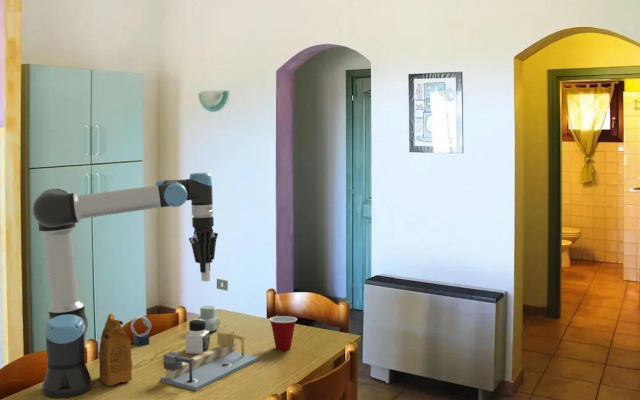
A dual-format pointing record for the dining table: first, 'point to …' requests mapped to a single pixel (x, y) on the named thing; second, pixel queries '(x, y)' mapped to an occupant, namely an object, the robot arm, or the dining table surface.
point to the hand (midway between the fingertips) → (205, 280)
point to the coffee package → (115, 353)
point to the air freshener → (209, 318)
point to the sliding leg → (229, 339)
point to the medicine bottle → (197, 337)
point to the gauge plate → (212, 371)
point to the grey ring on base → (142, 338)
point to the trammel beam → (192, 361)
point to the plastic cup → (283, 331)
